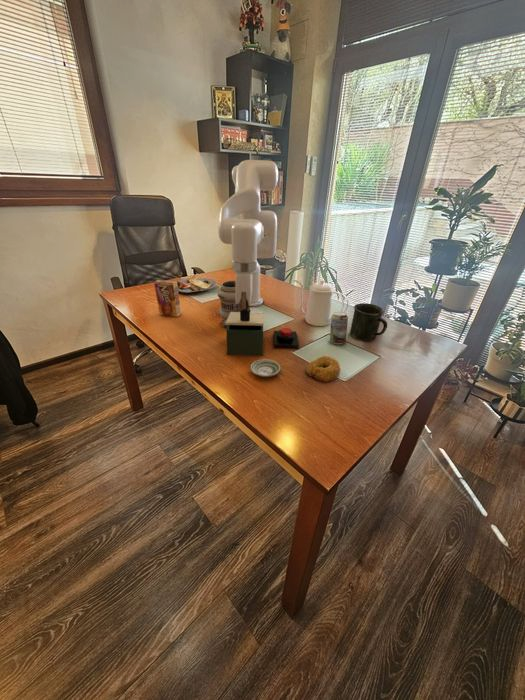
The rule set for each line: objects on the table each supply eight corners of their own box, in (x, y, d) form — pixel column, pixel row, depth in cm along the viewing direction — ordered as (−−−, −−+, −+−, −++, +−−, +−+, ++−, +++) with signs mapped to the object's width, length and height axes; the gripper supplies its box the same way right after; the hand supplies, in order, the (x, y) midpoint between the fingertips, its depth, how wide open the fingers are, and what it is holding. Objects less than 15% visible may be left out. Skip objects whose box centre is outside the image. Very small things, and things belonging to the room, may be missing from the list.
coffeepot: (294, 311, 138) (297, 272, 129) (346, 323, 129) (354, 281, 119) (285, 319, 130) (288, 278, 120) (340, 332, 120) (348, 289, 111)
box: (262, 355, 104) (263, 331, 99) (227, 354, 104) (226, 330, 99) (263, 337, 115) (263, 314, 110) (231, 336, 115) (230, 314, 110)
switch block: (298, 348, 108) (299, 340, 106) (274, 348, 108) (274, 340, 106) (295, 335, 118) (296, 327, 116) (273, 334, 118) (274, 326, 116)
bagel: (304, 364, 100) (306, 352, 97) (337, 366, 99) (339, 354, 96) (305, 381, 91) (307, 368, 89) (341, 384, 90) (343, 371, 88)
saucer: (282, 366, 98) (282, 360, 96) (277, 384, 90) (277, 377, 88) (254, 362, 99) (254, 356, 98) (247, 379, 91) (247, 372, 90)
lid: (263, 325, 97) (263, 323, 96) (225, 324, 97) (225, 322, 97) (263, 314, 110) (263, 312, 110) (230, 313, 110) (230, 311, 110)
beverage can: (336, 348, 109) (341, 319, 103) (324, 339, 115) (328, 311, 109) (349, 344, 112) (354, 315, 106) (336, 336, 118) (341, 308, 111)
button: (291, 337, 110) (291, 332, 109) (281, 336, 110) (281, 332, 109) (290, 332, 113) (291, 328, 112) (280, 331, 113) (280, 327, 112)
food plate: (164, 286, 165) (163, 280, 163) (200, 278, 179) (199, 273, 177) (187, 298, 150) (186, 292, 148) (224, 289, 163) (223, 283, 162)
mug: (360, 327, 125) (365, 301, 119) (389, 341, 115) (397, 313, 109) (343, 333, 120) (348, 306, 113) (372, 348, 109) (380, 320, 103)
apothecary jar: (213, 326, 123) (210, 285, 113) (228, 316, 132) (226, 277, 123) (238, 332, 118) (237, 290, 109) (251, 321, 128) (252, 281, 118)
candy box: (181, 313, 134) (177, 281, 126) (177, 317, 130) (172, 284, 122) (163, 311, 135) (158, 279, 127) (159, 315, 131) (153, 282, 124)
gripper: (234, 260, 97) (236, 311, 106) (229, 272, 84) (231, 329, 93) (257, 260, 97) (256, 311, 106) (255, 273, 84) (255, 330, 93)
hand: (245, 319), depth 99 cm, fingers closed
